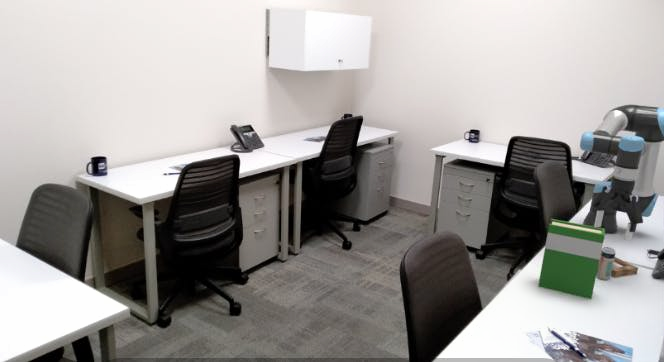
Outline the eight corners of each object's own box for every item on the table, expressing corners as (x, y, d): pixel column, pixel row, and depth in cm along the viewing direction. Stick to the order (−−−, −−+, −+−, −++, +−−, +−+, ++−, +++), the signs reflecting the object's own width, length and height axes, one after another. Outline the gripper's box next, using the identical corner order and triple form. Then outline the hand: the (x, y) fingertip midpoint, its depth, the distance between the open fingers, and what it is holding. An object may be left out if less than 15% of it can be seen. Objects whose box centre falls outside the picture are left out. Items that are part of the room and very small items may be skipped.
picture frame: (611, 261, 218) (612, 255, 218) (636, 274, 208) (638, 267, 207) (589, 264, 214) (590, 258, 213) (614, 277, 203) (615, 271, 203)
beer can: (598, 274, 206) (604, 245, 202) (611, 278, 202) (617, 249, 199) (593, 277, 202) (600, 248, 199) (607, 282, 199) (613, 252, 196)
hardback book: (538, 286, 192) (549, 224, 186) (540, 278, 198) (551, 218, 192) (591, 299, 185) (604, 235, 178) (591, 290, 191) (604, 228, 185)
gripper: (588, 170, 201) (578, 222, 207) (647, 188, 179) (634, 246, 185) (603, 169, 204) (592, 221, 210) (662, 187, 182) (649, 244, 188)
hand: (612, 233), depth 197 cm, fingers open, 13 cm apart
